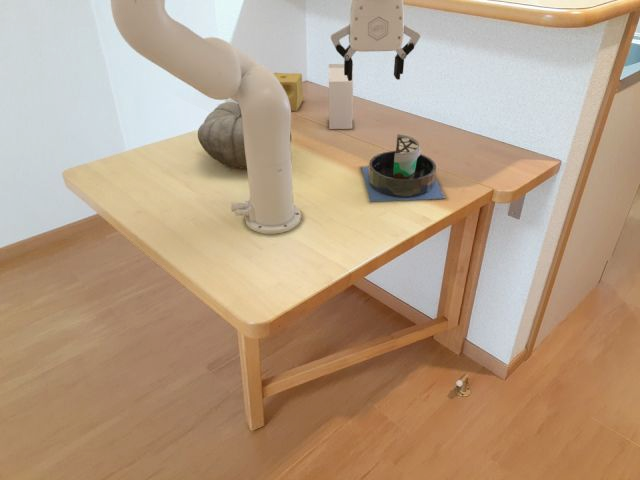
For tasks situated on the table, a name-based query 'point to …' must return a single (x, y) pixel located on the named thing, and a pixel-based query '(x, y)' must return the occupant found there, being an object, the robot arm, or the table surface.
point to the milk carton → (340, 98)
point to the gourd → (225, 135)
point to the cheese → (292, 88)
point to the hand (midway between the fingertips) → (373, 78)
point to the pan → (401, 188)
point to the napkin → (379, 197)
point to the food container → (406, 157)
